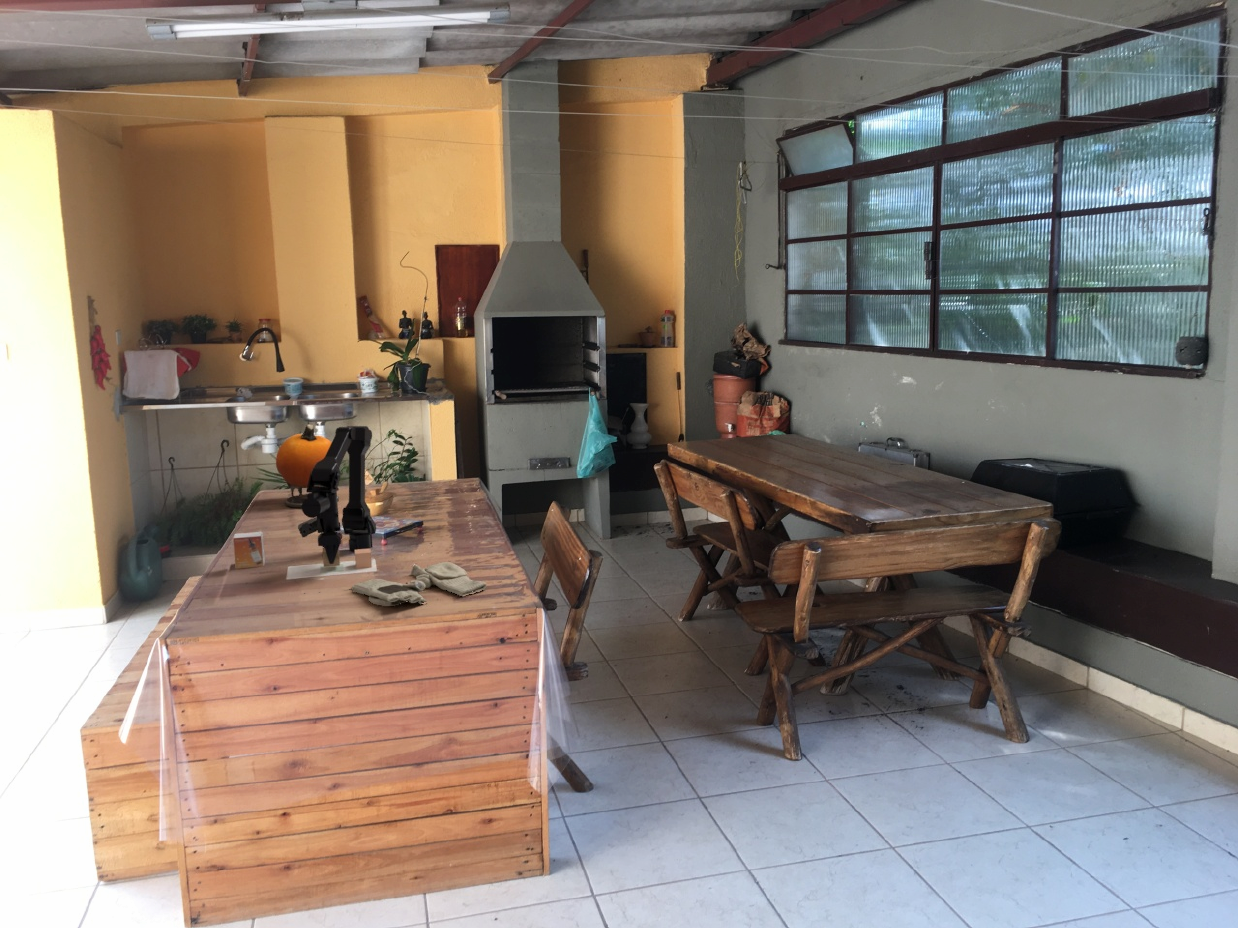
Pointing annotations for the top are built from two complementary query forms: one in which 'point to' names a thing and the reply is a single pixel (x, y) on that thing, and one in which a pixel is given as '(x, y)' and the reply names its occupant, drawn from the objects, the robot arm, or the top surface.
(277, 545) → the top surface
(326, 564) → the walnut block
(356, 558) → the terracotta block
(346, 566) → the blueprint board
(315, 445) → the pumpkin
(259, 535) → the small box
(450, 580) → the pair of gloves
